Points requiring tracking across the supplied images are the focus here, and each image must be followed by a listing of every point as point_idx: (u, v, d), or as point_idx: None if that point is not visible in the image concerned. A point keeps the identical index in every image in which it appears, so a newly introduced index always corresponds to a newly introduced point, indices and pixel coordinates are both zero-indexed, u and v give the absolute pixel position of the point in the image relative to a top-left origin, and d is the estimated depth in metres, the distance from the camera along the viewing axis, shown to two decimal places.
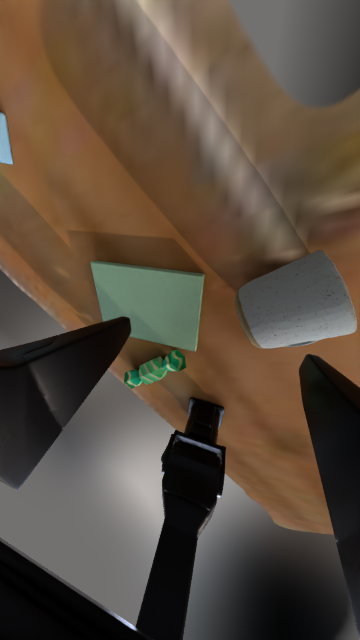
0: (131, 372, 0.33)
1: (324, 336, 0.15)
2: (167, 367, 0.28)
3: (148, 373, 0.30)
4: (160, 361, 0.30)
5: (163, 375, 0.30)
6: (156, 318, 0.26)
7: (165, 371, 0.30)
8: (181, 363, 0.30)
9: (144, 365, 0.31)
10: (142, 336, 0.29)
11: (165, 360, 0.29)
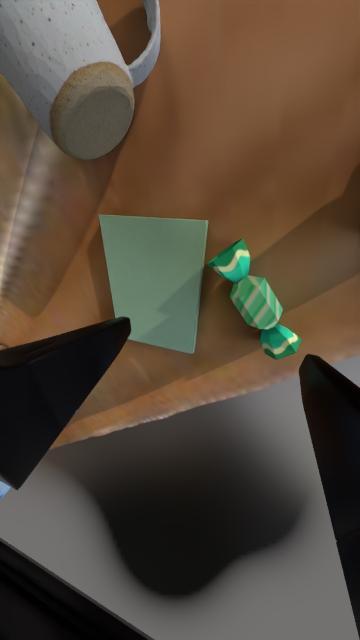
0: (262, 342, 0.20)
1: None
2: (228, 270, 0.16)
3: (246, 309, 0.17)
4: (233, 285, 0.18)
5: (255, 282, 0.16)
6: (160, 280, 0.21)
7: (250, 278, 0.17)
8: None
9: (242, 315, 0.19)
10: (192, 306, 0.21)
11: (221, 274, 0.17)
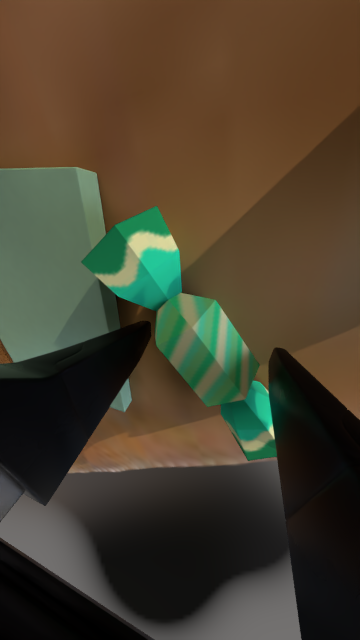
0: (223, 416, 0.10)
1: None
2: (123, 284, 0.07)
3: (175, 368, 0.08)
4: (157, 312, 0.09)
5: (189, 312, 0.07)
6: (41, 296, 0.11)
7: (182, 301, 0.07)
8: None
9: None
10: None
11: None
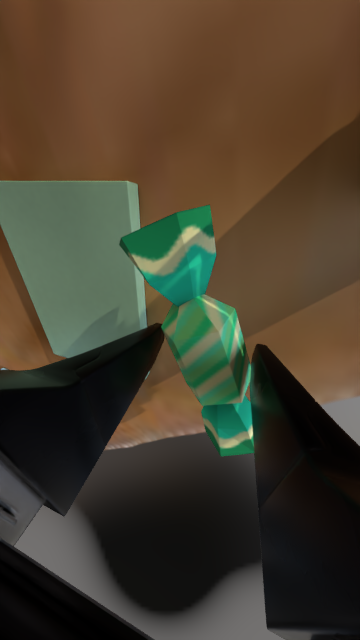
0: (204, 415, 0.11)
1: None
2: (159, 273, 0.06)
3: (184, 366, 0.08)
4: (171, 307, 0.09)
5: (214, 315, 0.07)
6: (84, 279, 0.14)
7: (206, 303, 0.08)
8: None
9: (179, 365, 0.10)
10: (132, 316, 0.15)
11: None
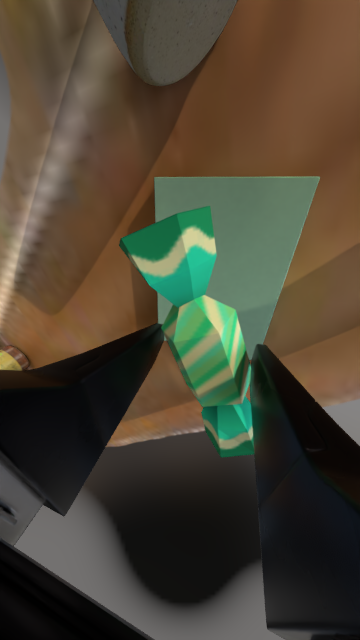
0: (204, 416, 0.11)
1: None
2: (159, 274, 0.06)
3: (184, 367, 0.08)
4: (171, 308, 0.09)
5: (215, 316, 0.07)
6: (230, 266, 0.16)
7: (206, 304, 0.07)
8: None
9: (179, 366, 0.10)
10: (269, 300, 0.16)
11: None
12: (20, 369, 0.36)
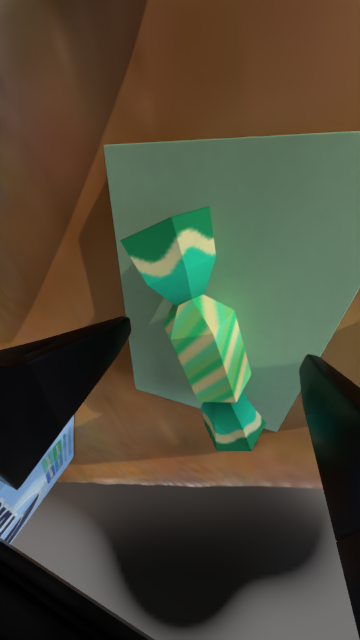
0: (203, 410, 0.11)
1: None
2: (156, 274, 0.07)
3: (181, 363, 0.08)
4: (172, 306, 0.09)
5: (211, 317, 0.07)
6: (240, 300, 0.09)
7: (204, 303, 0.08)
8: None
9: None
10: None
11: None
12: None
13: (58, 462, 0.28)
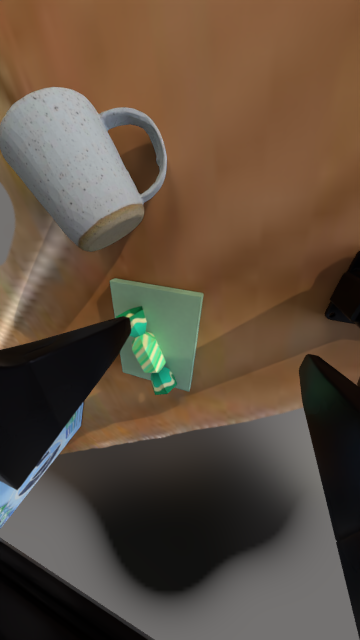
0: (151, 378, 0.26)
1: (55, 132, 0.11)
2: None
3: None
4: None
5: (145, 342, 0.22)
6: (162, 334, 0.24)
7: (144, 337, 0.22)
8: None
9: None
10: (189, 355, 0.24)
11: None
12: None
13: (72, 424, 0.43)
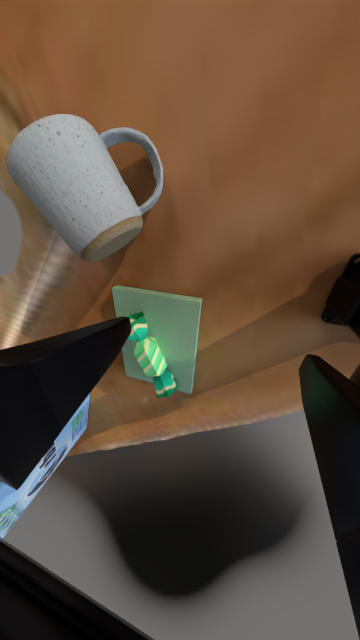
0: (153, 382, 0.27)
1: (58, 155, 0.12)
2: None
3: None
4: None
5: (146, 347, 0.23)
6: (163, 338, 0.25)
7: (145, 342, 0.23)
8: None
9: None
10: (189, 359, 0.25)
11: None
12: None
13: (78, 427, 0.44)
